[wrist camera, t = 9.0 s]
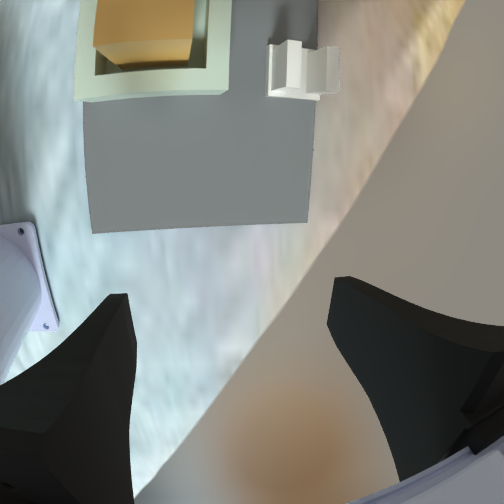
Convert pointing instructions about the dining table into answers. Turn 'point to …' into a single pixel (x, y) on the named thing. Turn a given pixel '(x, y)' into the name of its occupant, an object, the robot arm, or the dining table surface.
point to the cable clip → (301, 71)
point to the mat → (208, 141)
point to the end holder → (157, 78)
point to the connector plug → (144, 32)
